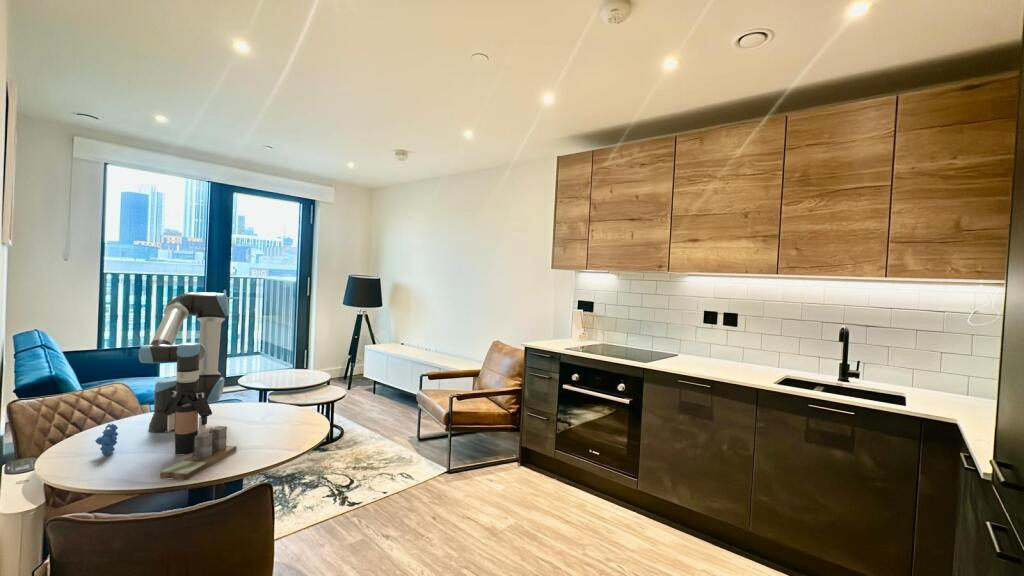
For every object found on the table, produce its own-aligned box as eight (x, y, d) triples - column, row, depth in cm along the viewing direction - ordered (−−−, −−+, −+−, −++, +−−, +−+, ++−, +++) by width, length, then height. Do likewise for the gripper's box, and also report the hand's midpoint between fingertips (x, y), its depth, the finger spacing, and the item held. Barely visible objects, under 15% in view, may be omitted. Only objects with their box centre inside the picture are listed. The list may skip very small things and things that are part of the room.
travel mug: (179, 456, 175) (180, 408, 174) (171, 451, 179) (172, 404, 178) (200, 450, 182) (201, 403, 181) (192, 446, 186) (193, 400, 185)
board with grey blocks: (160, 477, 158) (160, 448, 157) (213, 449, 184) (214, 423, 183) (186, 480, 157) (186, 450, 157) (236, 450, 183) (237, 425, 183)
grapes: (100, 449, 178) (100, 421, 177) (121, 447, 181) (122, 419, 180) (89, 461, 167) (89, 430, 167) (112, 458, 171) (112, 428, 170)
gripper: (151, 380, 176) (149, 432, 177) (209, 384, 175) (208, 436, 175) (167, 376, 184) (165, 426, 184) (223, 380, 182) (221, 430, 183)
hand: (186, 431), depth 180 cm, fingers open, 13 cm apart
